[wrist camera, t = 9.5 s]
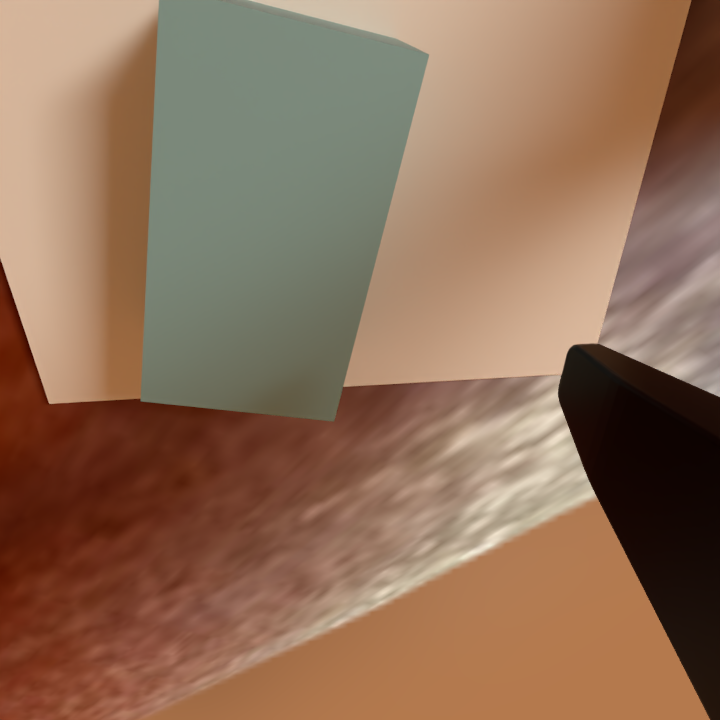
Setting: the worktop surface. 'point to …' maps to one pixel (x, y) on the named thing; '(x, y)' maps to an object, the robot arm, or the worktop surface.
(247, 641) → the worktop surface
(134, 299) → the mat
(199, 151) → the grey-green block
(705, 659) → the robot arm
